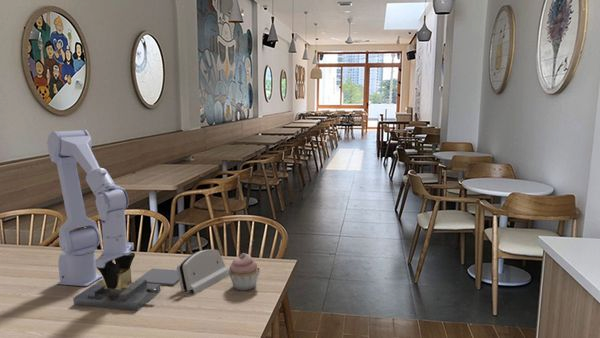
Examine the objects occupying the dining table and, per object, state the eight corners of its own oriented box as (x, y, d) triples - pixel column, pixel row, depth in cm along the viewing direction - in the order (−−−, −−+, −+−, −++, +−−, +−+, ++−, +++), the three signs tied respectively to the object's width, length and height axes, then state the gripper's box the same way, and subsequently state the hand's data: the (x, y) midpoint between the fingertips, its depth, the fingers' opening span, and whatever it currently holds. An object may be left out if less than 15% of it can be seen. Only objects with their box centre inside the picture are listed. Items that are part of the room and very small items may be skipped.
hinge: (194, 294, 123) (183, 259, 123) (182, 297, 125) (171, 262, 126) (231, 274, 138) (221, 242, 138) (219, 276, 140) (210, 245, 140)
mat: (135, 282, 131) (135, 280, 131) (152, 270, 141) (152, 268, 141) (173, 285, 129) (173, 283, 129) (188, 272, 139) (188, 270, 139)
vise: (73, 305, 117) (71, 281, 116) (101, 286, 129) (100, 264, 128) (146, 311, 114) (145, 286, 113) (169, 291, 125) (167, 269, 124)
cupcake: (220, 286, 128) (219, 253, 127) (246, 277, 135) (245, 245, 134) (242, 296, 122) (241, 260, 121) (267, 286, 129) (267, 252, 127)
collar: (103, 288, 119) (102, 274, 118) (114, 281, 124) (113, 267, 123) (121, 289, 118) (120, 275, 117) (131, 282, 123) (130, 268, 122)
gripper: (112, 244, 111) (115, 296, 113) (142, 227, 125) (145, 274, 127) (86, 242, 112) (90, 294, 114) (119, 226, 126) (122, 273, 128)
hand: (117, 284), depth 121 cm, fingers closed on collar, 5 cm apart
